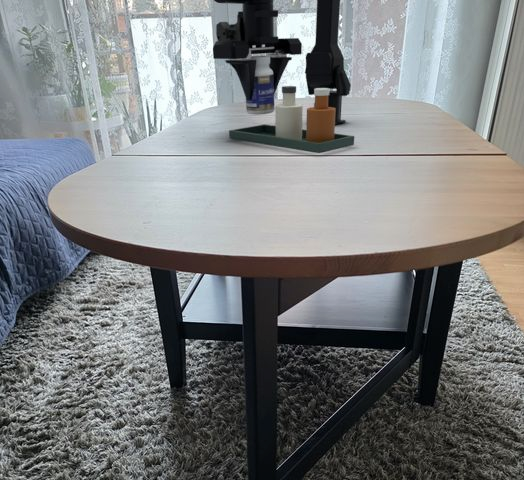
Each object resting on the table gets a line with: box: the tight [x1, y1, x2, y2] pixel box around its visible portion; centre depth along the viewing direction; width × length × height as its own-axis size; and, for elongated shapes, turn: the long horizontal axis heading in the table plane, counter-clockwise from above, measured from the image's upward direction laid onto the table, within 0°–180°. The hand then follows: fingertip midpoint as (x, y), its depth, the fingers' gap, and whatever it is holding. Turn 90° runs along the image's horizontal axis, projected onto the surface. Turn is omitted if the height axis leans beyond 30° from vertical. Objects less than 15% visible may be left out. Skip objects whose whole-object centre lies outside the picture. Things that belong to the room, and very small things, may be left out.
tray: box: [228, 123, 355, 154], centre depth 100 cm, size 10×24×2 cm, turn 44°
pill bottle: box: [245, 55, 275, 116], centre depth 100 cm, size 6×6×10 cm
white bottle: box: [274, 85, 304, 140], centre depth 98 cm, size 5×5×10 cm
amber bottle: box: [305, 88, 336, 143], centre depth 93 cm, size 5×5×10 cm
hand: (260, 98), depth 101 cm, fingers closed on pill bottle, 6 cm apart
